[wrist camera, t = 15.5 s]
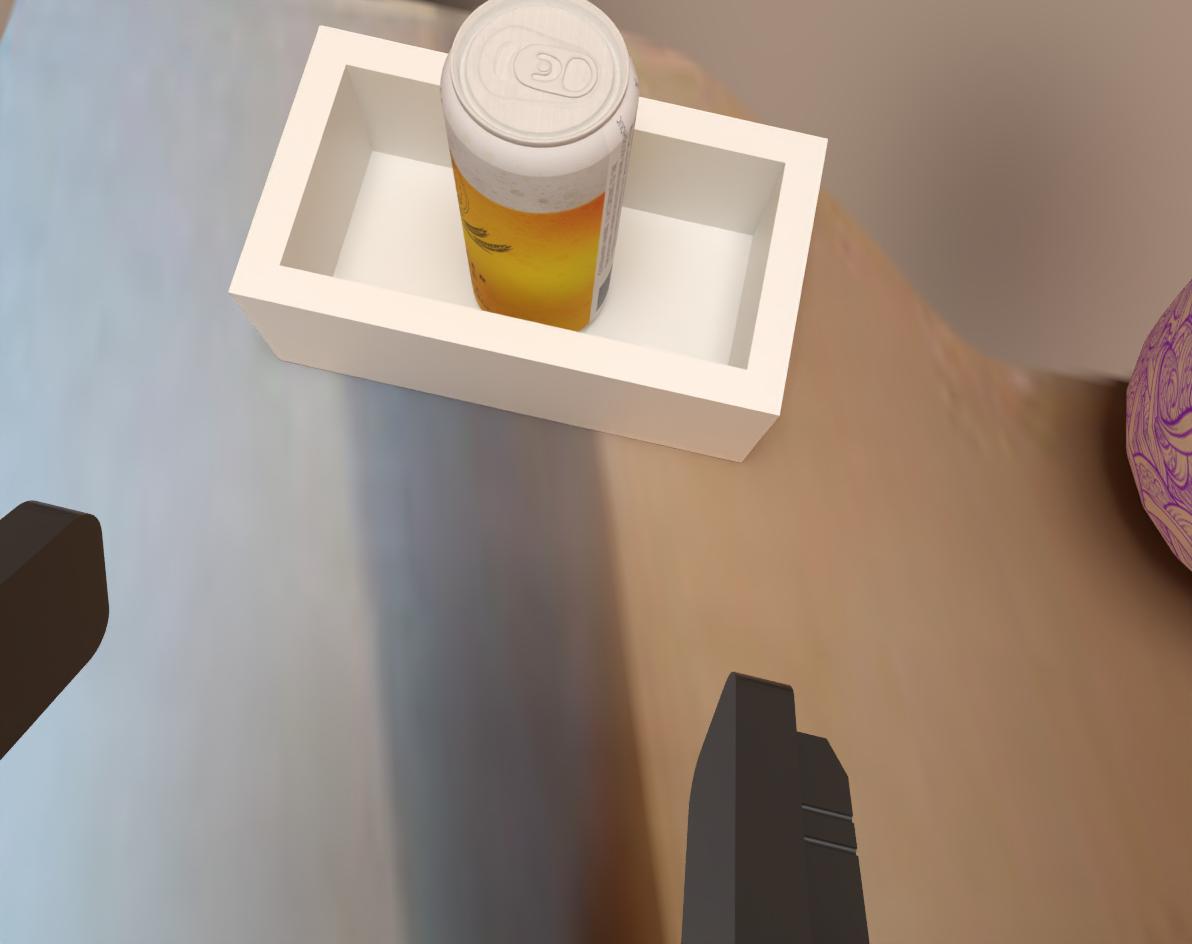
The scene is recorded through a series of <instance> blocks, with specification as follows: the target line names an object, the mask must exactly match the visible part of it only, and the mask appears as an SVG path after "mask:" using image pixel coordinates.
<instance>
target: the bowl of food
mask: <svg viewBox="0 0 1192 944" xmlns="http://www.w3.org/2000/svg"><path fill="white" fill-rule="evenodd" d="M1126 450H1127V456H1128V460H1129V463H1130V466H1131V469H1132V473H1133V476H1134V479H1135V482H1136V486H1137V489H1138V492H1139V495H1140V499H1141V502H1142V505H1143V507H1144V509H1145V510H1146V512H1147V514H1148V515H1149V517H1150V518H1151V520H1152V521H1153V523H1154V524H1155V526H1156V527H1157V529H1158V530H1159V532H1160V533H1161V535H1162V537H1163V538H1164V540H1165V541H1166V543H1167V544H1168V546H1169V547H1170V549H1171V550H1172V552H1173V553H1174V554H1175V556H1176V557H1177V558H1178V559H1179V560H1180V561H1181V562H1182V563H1183V564H1184V565H1185V566H1186V567H1187V568H1189V569H1190V570H1191V571H1192V280H1191V281H1190V282H1189V283H1188V284H1187V285H1186V287H1185V288H1184V289H1183V290H1182V291H1181V292H1180V294H1179V295H1178V296H1177V297H1176V299H1175V300H1174V301H1173V302H1172V304H1171V305H1170V306H1169V308H1168V309H1167V310H1166V311H1165V312H1164V314H1163V315H1162V316H1161V318H1160V319H1159V321H1158V322H1157V324H1156V325H1155V327H1154V328H1153V330H1152V331H1151V333H1150V334H1149V336H1148V337H1147V339H1146V340H1145V342H1144V345H1143V348H1142V350H1141V353H1140V356H1139V358H1138V361H1137V364H1136V367H1135V369H1134V372H1133V375H1132V377H1131V380H1130V383H1129V385H1128V388H1127V412H1126Z"/></svg>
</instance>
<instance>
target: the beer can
mask: <svg viewBox="0 0 1192 944" xmlns="http://www.w3.org/2000/svg"><path fill="white" fill-rule="evenodd" d="M440 94H441V102H442V108H443V114H444V120H445V126H446V132H447V138H448V144H449V150H450V156H451V162H452V168H453V174H454V180H455V186H456V192H457V198H458V204H459V210H460V216H461V222H462V228H463V234H464V240H465V246H466V252H467V258H468V264H469V270H470V276H471V282H472V287H473V292H474V295H475V298H476V301H477V303H478V305H479V307H480V308H481V310H482V311H486V312H491V313H495V314H500V315H504V316H509V317H513V318H518V319H522V320H527V321H531V322H536V323H540V324H545V325H549V326H553V327H558V328H562V329H567V330H571V331H576V332H578V331H580V330H581V329H583V328H584V327H585V326H587V325H588V324H589V323H590V322H591V321H592V320H593V319H594V318H595V317H596V316H597V314H598V313H599V312H600V310H601V308H602V307H603V305H604V303H605V300H606V298H607V294H608V290H609V284H610V278H611V272H612V266H613V259H614V253H615V247H616V240H617V234H618V228H619V222H620V215H621V209H622V203H623V197H624V190H625V184H626V178H627V171H628V165H629V159H630V153H631V146H632V140H633V134H634V127H635V121H636V115H637V109H638V102H639V82H638V77H637V72H636V69H635V66H634V63H633V61H632V59H631V57H630V55H629V53H628V51H627V48H626V45H625V42H624V40H623V38H622V36H621V34H620V32H619V30H618V29H617V27H616V26H615V24H614V23H613V22H612V21H611V20H610V18H609V17H608V16H607V15H606V14H604V13H603V12H602V11H601V10H600V9H599V8H597V7H596V6H595V5H593V4H592V3H590V2H588V1H587V0H489V1H487V2H485V3H484V4H482V5H481V6H479V7H478V8H477V9H476V10H475V11H474V12H472V13H471V14H470V16H469V17H468V18H467V19H466V20H465V21H464V23H463V24H462V26H461V27H460V29H459V31H458V33H457V35H456V37H455V40H454V42H453V45H452V48H451V50H450V52H449V54H448V55H447V58H446V60H445V63H444V66H443V70H442V74H441V82H440Z"/></svg>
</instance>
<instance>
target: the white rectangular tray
mask: <svg viewBox="0 0 1192 944" xmlns="http://www.w3.org/2000/svg"><path fill="white" fill-rule="evenodd" d="M447 55H448V54H446V53H442V52H437V51H433V50H429V49H424V48H420V47H415V46H411V45H406V44H402V43H397V42H393V41H388V40H384V39H379V38H375V37H371V36H366V35H362V34H357V33H353V32H348V31H344V30H339V29H335V28H330V27H326V26H321V25H320V27H319V29H318V32H317V35H316V38H315V41H314V44H313V47H312V50H311V53H310V56H309V59H308V61H307V64H306V67H305V70H304V73H303V76H302V79H301V82H300V85H299V88H298V91H297V94H296V96H295V99H294V102H293V105H292V108H291V111H290V114H289V117H288V120H287V123H286V126H285V128H284V131H283V134H282V137H281V140H280V143H279V146H278V149H277V152H276V155H275V158H274V161H273V163H272V166H271V169H270V172H269V175H268V178H267V181H266V184H265V187H264V190H263V193H262V195H261V198H260V201H259V204H258V207H257V210H256V213H255V216H254V219H253V222H252V225H251V228H250V230H249V233H248V236H247V239H246V242H245V245H244V248H243V251H242V254H241V257H240V260H239V262H238V265H237V268H236V271H235V274H234V277H233V280H232V283H231V286H230V289H229V292H228V293H229V294H230V295H231V297H232V298H233V299H234V301H235V302H236V303H237V305H238V306H239V307H240V308H241V310H242V311H243V312H244V314H245V315H246V316H247V318H248V319H249V320H250V322H251V323H252V324H253V326H254V327H255V328H256V330H257V331H258V332H259V333H260V335H261V336H262V337H263V339H264V340H265V341H266V343H267V344H268V345H269V347H270V348H271V349H272V351H273V352H274V353H275V355H276V356H277V357H278V359H279V360H283V361H287V362H292V363H296V364H301V365H305V366H310V367H314V368H319V369H323V370H328V371H332V372H337V373H341V374H346V375H350V376H355V377H359V378H363V379H368V380H372V381H377V382H381V383H386V384H390V385H395V386H399V387H404V388H408V389H413V390H417V391H422V392H426V393H431V394H435V395H439V396H444V397H448V398H453V399H457V400H462V401H466V402H471V403H475V404H480V405H484V406H489V407H493V408H498V409H502V410H507V411H511V412H516V413H520V414H524V415H529V416H533V417H538V418H542V419H547V420H551V421H556V422H560V423H565V424H569V425H574V426H578V427H583V428H587V429H592V430H596V431H600V432H605V433H609V434H614V435H618V436H623V437H627V438H632V439H636V440H641V441H645V442H650V443H654V444H659V445H663V446H668V447H672V448H676V449H681V450H685V451H690V452H694V453H699V454H703V455H708V456H712V457H717V458H721V459H726V460H730V461H735V462H739V463H741V462H742V461H743V460H744V459H745V457H746V456H747V455H748V454H749V453H750V451H751V450H752V449H753V448H754V446H755V445H756V444H757V443H758V441H759V440H760V439H761V438H762V437H763V435H764V434H765V433H766V432H767V430H768V429H769V428H770V427H771V426H772V424H773V423H774V422H775V421H776V419H777V418H778V417H779V416H780V410H781V404H782V399H783V393H784V387H785V382H786V376H787V370H788V364H789V359H790V353H791V347H792V342H793V336H794V330H795V324H796V319H797V313H798V307H799V301H800V296H801V290H802V284H803V279H804V273H805V267H806V261H807V256H808V250H809V244H810V239H811V233H812V227H813V221H814V216H815V210H816V204H817V199H818V193H819V187H820V181H821V176H822V170H823V164H824V158H825V153H826V147H827V141H828V139H825V138H821V137H817V136H812V135H808V134H803V133H799V132H795V131H790V130H785V129H781V128H777V127H772V126H768V125H763V124H759V123H754V122H750V121H745V120H741V119H736V118H732V117H728V116H723V115H719V114H714V113H710V112H705V111H701V110H696V109H692V108H687V107H683V106H678V105H674V104H670V103H665V102H661V101H656V100H652V99H647V98H643V97H639V102H638V109H637V115H636V121H635V127H634V134H633V140H632V146H631V153H630V159H629V165H628V171H627V178H626V184H625V190H624V197H623V203H622V209H621V215H620V222H619V228H618V234H617V240H616V247H615V253H614V259H613V266H612V272H611V278H610V284H609V290H608V294H607V298H606V300H605V303H604V305H603V307H602V308H601V310H600V312H599V313H598V314H597V316H596V317H595V318H594V319H593V320H592V321H591V322H590V323H589V324H588V325H587V326H585V327H584V328H583V329H581V330H580V331H578V332H576V331H571V330H567V329H562V328H558V327H553V326H549V325H545V324H540V323H536V322H531V321H527V320H522V319H518V318H513V317H509V316H504V315H500V314H495V313H491V312H486V311H482V310H481V308H480V307H479V305H478V303H477V301H476V298H475V295H474V292H473V287H472V282H471V276H470V270H469V264H468V258H467V252H466V246H465V240H464V234H463V228H462V222H461V216H460V210H459V204H458V198H457V192H456V186H455V180H454V174H453V168H452V162H451V156H450V150H449V144H448V138H447V132H446V126H445V120H444V114H443V108H442V102H441V94H440V82H441V74H442V70H443V66H444V63H445V60H446V58H447Z"/></svg>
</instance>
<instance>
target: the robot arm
mask: <svg viewBox="0 0 1192 944" xmlns="http://www.w3.org/2000/svg"><path fill="white" fill-rule="evenodd" d="M108 618H109V603H108V592H107V582H106V571H105V560H104V550H103V539H102V530H101V525H100V522H99V521H98V519H97V518H96V517H95V516H94V515H91V514H88V513H84V512H80V511H75V510H71V509H67V508H63V507H59V506H55V505H51V504H46V503H42V502H38V501H26V502H24V503H22V504H20V505H19V506H17V507H16V508H15V509H13V510H12V511H11V512H10V513H8V514H7V515H6V516H5V517H3V518H2V519H1V520H0V760H1V759H2V758H3V757H4V756H5V754H6V753H7V752H8V751H9V750H10V749H11V748H12V747H13V745H14V744H15V743H16V742H17V741H18V740H19V739H20V738H21V737H22V735H23V734H24V733H25V732H26V731H27V730H28V729H29V728H30V726H31V725H32V724H33V723H34V722H35V721H36V720H37V719H38V717H39V716H40V715H41V714H42V713H43V712H44V711H45V710H46V709H47V707H48V706H49V705H50V704H51V703H52V702H53V701H54V700H55V698H56V697H57V696H58V695H59V694H60V693H61V692H62V691H63V689H64V688H65V687H66V686H67V685H68V684H69V683H70V682H71V680H72V679H73V678H74V677H75V676H76V675H77V674H78V673H79V672H80V670H81V669H82V668H83V667H84V666H85V665H86V664H87V663H88V661H89V660H90V659H91V658H92V657H93V655H94V654H95V652H96V651H97V649H98V647H99V645H100V643H101V641H102V639H103V636H104V634H105V631H106V627H107V623H108ZM852 816H853V813H852V805H851V797H850V789H849V782H848V776H847V774H846V772H845V771H844V769H843V767H842V765H841V763H840V762H839V760H838V758H837V756H836V755H835V753H834V751H833V749H832V748H831V746H830V744H829V742H828V740H827V739H826V738H822V737H817V736H813V735H809V734H805V733H801V732H797V730H796V716H795V703H794V692H793V689H792V687H791V686H790V685H786V684H782V683H778V682H774V681H769V680H765V679H761V678H757V677H753V676H749V675H745V674H740V673H736V672H731V673H730V675H729V677H728V679H727V681H726V683H725V686H724V689H723V691H722V694H721V697H720V700H719V702H718V705H717V708H716V711H715V713H714V716H713V719H712V722H711V724H710V727H709V730H708V733H707V735H706V738H705V741H704V744H703V746H702V749H701V752H700V755H699V758H698V761H697V765H696V768H695V773H694V777H693V782H692V788H691V794H690V802H689V816H688V833H687V851H686V868H685V886H684V904H683V921H682V939H681V944H869V936H868V929H867V921H866V913H865V905H864V898H863V890H862V882H861V874H860V867H859V859H858V856H856V849H857V843H856V836H855V828H854V823H852Z"/></svg>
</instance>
